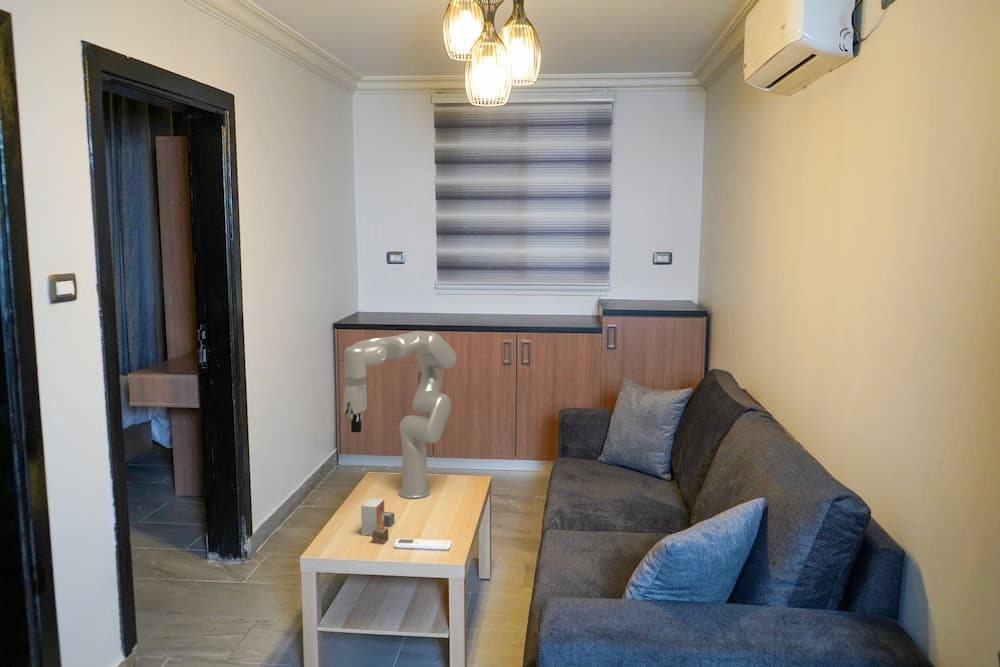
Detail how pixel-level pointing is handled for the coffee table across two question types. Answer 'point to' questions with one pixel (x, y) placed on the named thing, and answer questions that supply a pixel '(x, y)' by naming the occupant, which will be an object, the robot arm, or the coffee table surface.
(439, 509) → the coffee table surface
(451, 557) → the coffee table surface
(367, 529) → the small box
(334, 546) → the coffee table surface
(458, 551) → the coffee table surface
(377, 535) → the digit seven block
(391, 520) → the digit one block
